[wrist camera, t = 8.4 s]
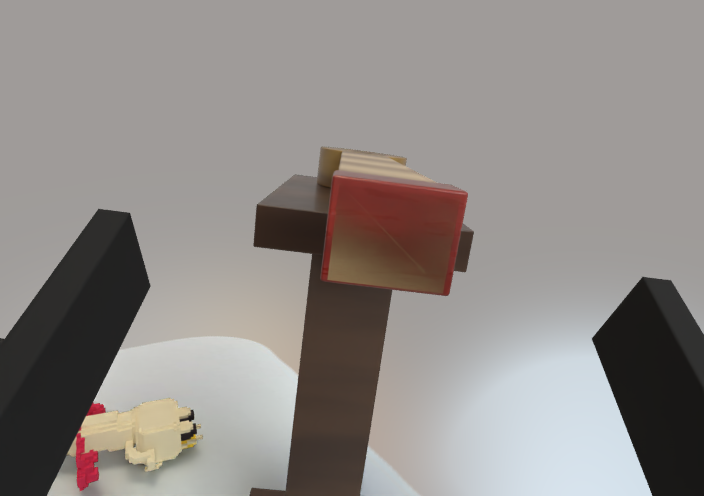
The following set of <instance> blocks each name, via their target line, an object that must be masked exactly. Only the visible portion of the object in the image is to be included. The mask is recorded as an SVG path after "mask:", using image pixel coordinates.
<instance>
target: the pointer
mask: <svg viewBox="0 0 704 496" xmlns="http://www.w3.org/2000/svg"><path fill="white" fill-rule="evenodd" d="M317 183H318V184H319V185H321V186H325V187H328V188H331V192H330V200H329V209H328V217H327V226H326V234H325V243H324V251H323V260H322V268H321V277H320V279H321V281H324V282H332V283H341V284H349V285H358V286H366V287H375V288H383V289H392V290H400V291H409V292H417V293H425V294H435V295H442V296H448V295H449V293H450V287H451V282H452V277H453V272H454V266H455V261H456V256H457V250H458V245H459V240H460V234H461V229H462V224H463V218H464V213H465V208H466V202H467V197H468V193H467V192H465V191H463V190H461V189H459V188H457V187H455V186H453V185H448V184H441V183H436V182H434V181H432V180H431V179H429V178H427V177H425V176H423V175H421V174H419V173H417V172H415V171H413V170H412V169H410V168H407V167H406V158H404V157H400V156H394V155H388V154H380V153H374V152H367V151H359V150H351V149H343V148H332V147H321V150H320V159H319V168H318V177H317Z"/></svg>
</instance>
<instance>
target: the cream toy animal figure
mask: <svg viewBox="0 0 704 496" xmlns="http://www.w3.org/2000/svg"><path fill="white" fill-rule="evenodd" d="M191 420H194V411H193V410H190V408H187V407H182V408H178V404H177V401H174V399H171V398H167V399H161V400H156V401H150V402H144V403H142V405H139V407H134V409H131V410H130V411H127V412H122V413H118V411H113V412H107V413H106V412H105V408H104V405H103V404H102V405H100V403H98V404H94V403H92V405H91V407H90V409H89V411H88V413H87V415H86V417H85V419H84V421H83V423H82V425H81V427H80V429H79V431H78V433H77V435H76V437H75V439H74V441H73V443H72V445H71V447H70V449H69V451H68V453H67V455H70V456H72V457H75V456H76V465H77V468H78V469H77V485H78V487H79V488H80V491H82V490H84V489H85V488H86V487H88V485H89V484H88V483H91V482H93V481H98V479H99V472H98V467H95V468H94V462H98V452H99V451H103V450H108V451H109V452H112V451H116V450H121V449H125V458H126V460H127V459H129V463H133V465H134V464H139V463H141V464H144V463H145V465H147V467H145V472H147V471H153V470H155V468H156V469H159V466H162V461H166V460H171V459H175V456H178V455H179V453H181V452H182V449H186V448H190V447H194V446H193V445H195V444H196V443H197V440H201V439H203V436H202V435H198V436H195V434H197V429H199V428H201V425H200V424H198V425H196V423H194V424H193V423H192V421H191ZM134 444H136V447H137V452H136V448H133V447H134ZM158 462H159V464H156V465H155V463H158Z"/></svg>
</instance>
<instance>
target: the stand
mask: <svg viewBox="0 0 704 496" xmlns="http://www.w3.org/2000/svg"><path fill="white" fill-rule="evenodd" d="M330 192H331V188H328V187H325V186H321V185H319V184H318V183H317V177H311V176H303V175H294V176H292V177H291V178H290V179H289V180H287V181H286V182H285V183H284V184H282V185H281V186H280V187H279V188H277V189H276V190H275V191H273V192H272V193H271V194H270V195H268V196H267V197H266V198H265V199H263V200H262V201H261V202H260V203H258V204H257V208H256V221H255V233H254V247H261V248H270V249H278V250H285V251H294V252H302V253H310V254H312V260H311V270H310V279H309V287H308V297H307V306H306V314H305V323H304V332H303V341H302V350H301V358H300V368H299V376H298V385H297V394H296V403H295V412H294V421H293V430H292V439H291V448H290V457H289V466H288V475H287V483H286V491H280V490H269V489H259V488H252V489H251V492H250V496H360V491H361V485H362V479H363V472H364V466H365V460H366V453H367V447H368V441H369V434H370V427H371V421H372V415H373V409H374V402H375V396H376V390H377V383H378V377H379V371H380V364H381V358H382V352H383V345H384V339H385V333H386V326H387V320H388V313H389V307H390V300H391V295H392V289H383V288H375V287H366V286H358V285H349V284H341V283H332V282H324V281H321V279H320V277H321V268H322V260H323V251H324V243H325V234H326V226H327V217H328V209H329V200H330ZM473 234H474V232H473V231H472V230H471V229H470V228H468V227H467V226H466V225H464V224H462V229H461V234H460V240H459V245H458V250H457V256H456V261H455V266H454V271H460V272H466V269H467V265H468V259H469V254H470V249H471V244H472V239H473Z"/></svg>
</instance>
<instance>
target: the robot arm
mask: <svg viewBox="0 0 704 496" xmlns="http://www.w3.org/2000/svg"><path fill="white" fill-rule="evenodd" d="M149 288H150V283H149V280H148V276H147V272H146V269H145V265H144V261H143V258H142V254H141V251H140V247H139V243H138V240H137V236H136V233H135V229H134V226H133V222H132V219H131V215H130V213H127V212H118V211H111V210H103V209H98V211H97V212H96V213H95V215H94V216H93V217H92V219H91V220H90V222H89V223H88V224H87V226H86V227H85V229H84V230H83V231H82V233H81V234H80V235H79V237H78V238H77V239H76V241H75V242H74V244H73V245H72V246H71V248H70V249H69V251H68V252H67V253H66V255H65V256H64V258H63V259H62V260H61V262H60V263H59V264H58V266H57V267H56V269H55V270H54V271H53V273H52V274H51V276H50V277H49V278H48V280H47V281H46V283H45V284H44V285H43V287H42V288H41V289H40V291H39V292H38V294H37V295H36V296H35V298H34V299H33V300H32V302H31V303H30V305H29V306H28V308H27V309H26V310H25V312H24V313H23V314H22V316H21V317H20V319H19V320H18V321H17V323H16V324H15V325H14V327H13V328H12V330H11V331H10V332H9V334H8V335H7V336H6V338H5V339H1V338H0V496H47V494H48V492H49V490H50V488H51V486H52V484H53V482H54V480H55V478H56V476H57V474H58V472H59V470H60V468H61V466H62V463H63V461H64V459H65V457H66V455H67V453H68V451H69V449H70V447H71V445H72V443H73V441H74V439H75V437H76V435H77V433H78V431H79V429H80V427H81V425H82V423H83V421H84V419H85V417H86V415H87V413H88V411H89V409H90V407H91V405H92V403H93V401H94V399H95V397H96V395H97V393H98V391H99V389H100V387H101V385H102V383H103V381H104V379H105V377H106V375H107V373H108V371H109V369H110V367H111V365H112V363H113V361H114V359H115V357H116V355H117V353H118V351H119V349H120V347H121V345H122V343H123V341H124V338H125V336H126V334H127V333H128V330H129V329H130V327H131V324H132V322H133V320H134V318H135V316H136V314H137V312H138V310H139V308H140V306H141V304H142V302H143V300H144V298H145V296H146V294H147V292H148V290H149ZM592 340H593V343H594V345H595V348H596V351H597V353H598V356H599V358H600V361H601V363H602V366H603V368H604V371H605V374H606V377H607V379H608V382H609V384H610V387H611V389H612V392H613V394H614V397H615V400H616V402H617V405H618V407H619V410H620V413H621V415H622V418H623V421H624V423H625V426H626V428H627V431H628V433H629V436H630V439H631V441H632V444H633V446H634V449H635V451H636V454H637V457H638V459H639V462H640V465H641V467H642V470H643V472H644V475H645V478H646V480H647V483H648V485H649V488H650V491H651V493H652V496H704V334H703V333H702V331H701V329H700V328H699V326H698V325H697V323H696V321H695V319H694V318H693V316H692V314H691V313H690V311H689V310H688V308H687V306H686V304H685V303H684V301H683V300H682V298H681V296H680V295H679V293H678V292H677V290H676V288H675V286H674V285H673V283H672V281H671V280H662V279H654V278H647V277H642V278H641V280H640V281H639V282H638V283H637V285H636V286H635V287H634V288H633V289H632V291H631V292H630V293H629V294H628V295H627V297H626V298H625V299H624V300H623V301H622V303H621V304H620V305H619V306H618V308H617V309H616V310H615V311H614V312H613V314H612V315H611V316H610V317H609V318H608V320H607V321H606V322H605V323H604V325H603V326H602V327H601V328H600V329H599V331H598V332H597V333H596V334H595V336H594V337H593V338H592Z"/></svg>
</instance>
